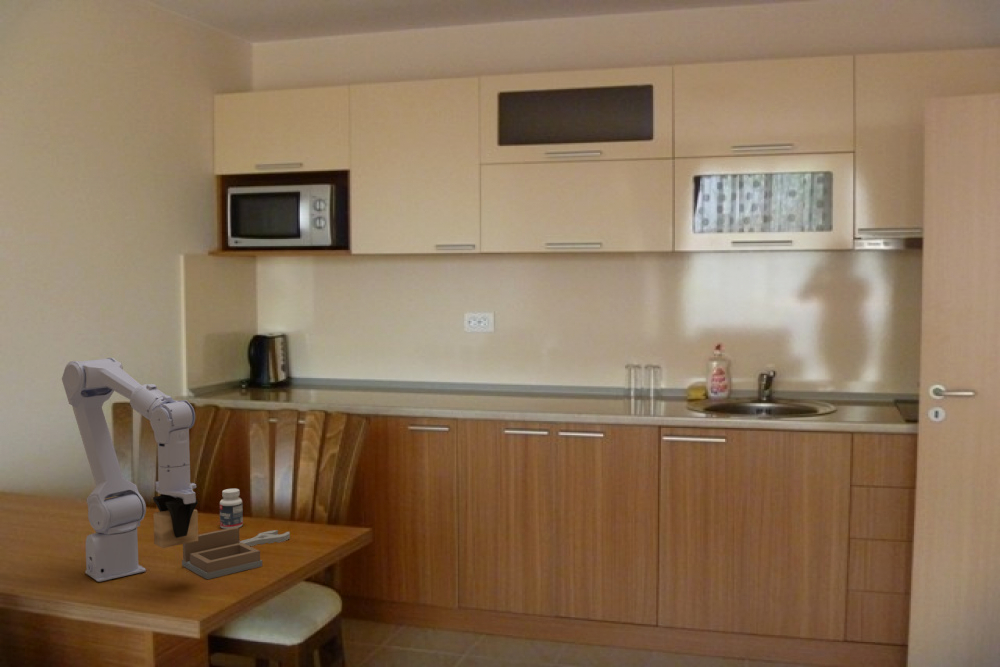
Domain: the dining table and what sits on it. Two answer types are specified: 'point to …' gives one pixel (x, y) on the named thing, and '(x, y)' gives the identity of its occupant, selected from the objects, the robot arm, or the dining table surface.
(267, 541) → the adjustable wrench
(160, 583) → the dining table surface
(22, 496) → the dining table surface
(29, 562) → the dining table surface
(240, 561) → the stand
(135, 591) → the dining table surface
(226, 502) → the pill bottle
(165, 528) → the light wooden block
